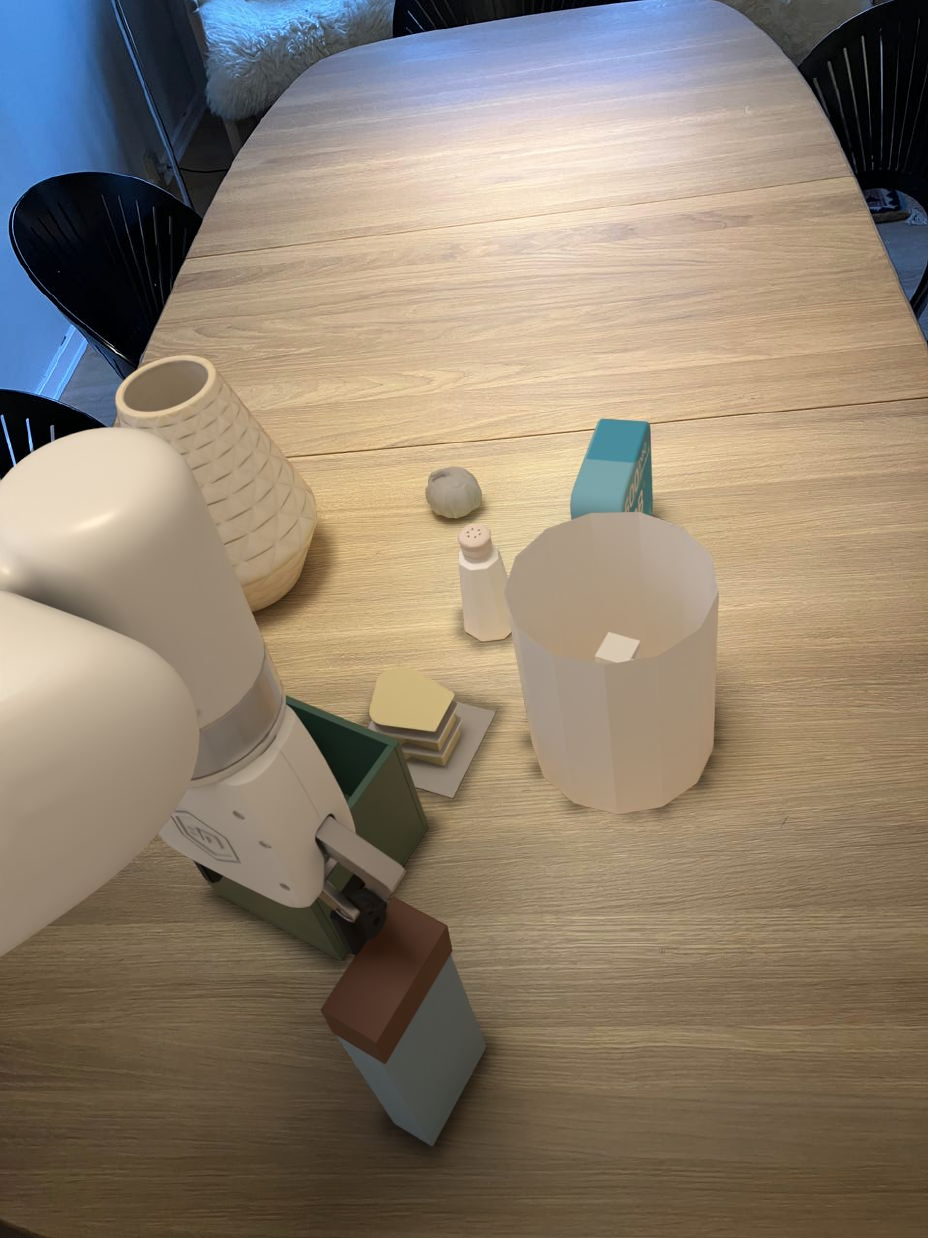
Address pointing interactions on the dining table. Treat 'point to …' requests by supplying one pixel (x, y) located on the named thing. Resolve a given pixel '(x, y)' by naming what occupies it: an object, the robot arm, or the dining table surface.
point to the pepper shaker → (482, 585)
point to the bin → (376, 805)
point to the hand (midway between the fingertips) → (295, 894)
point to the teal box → (615, 470)
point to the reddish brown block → (388, 981)
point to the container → (617, 657)
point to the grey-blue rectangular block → (427, 1059)
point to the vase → (228, 469)
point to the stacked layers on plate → (428, 727)
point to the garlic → (453, 492)
